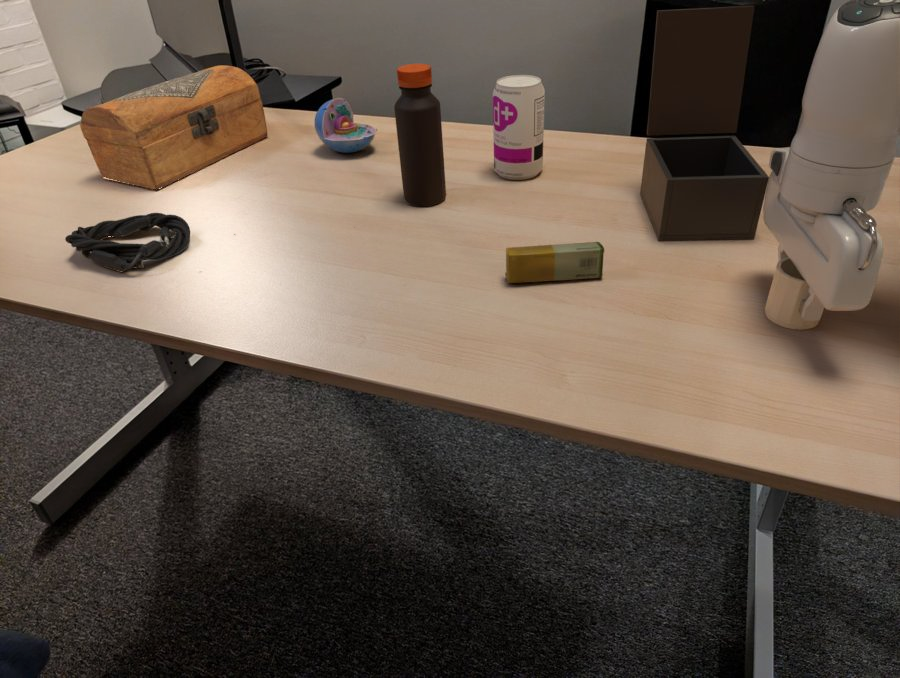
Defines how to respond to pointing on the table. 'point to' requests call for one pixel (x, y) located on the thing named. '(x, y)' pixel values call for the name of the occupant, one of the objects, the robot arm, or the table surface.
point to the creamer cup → (788, 297)
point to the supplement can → (518, 126)
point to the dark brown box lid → (698, 70)
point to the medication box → (554, 262)
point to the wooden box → (175, 126)
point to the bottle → (419, 137)
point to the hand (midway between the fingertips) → (796, 299)
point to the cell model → (341, 127)
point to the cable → (125, 253)
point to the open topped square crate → (702, 188)
